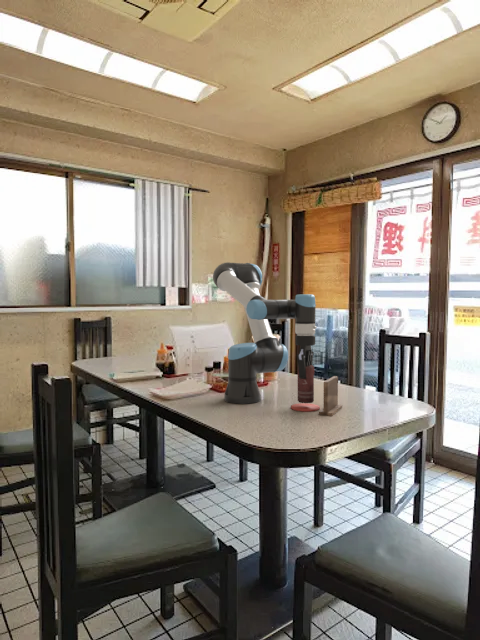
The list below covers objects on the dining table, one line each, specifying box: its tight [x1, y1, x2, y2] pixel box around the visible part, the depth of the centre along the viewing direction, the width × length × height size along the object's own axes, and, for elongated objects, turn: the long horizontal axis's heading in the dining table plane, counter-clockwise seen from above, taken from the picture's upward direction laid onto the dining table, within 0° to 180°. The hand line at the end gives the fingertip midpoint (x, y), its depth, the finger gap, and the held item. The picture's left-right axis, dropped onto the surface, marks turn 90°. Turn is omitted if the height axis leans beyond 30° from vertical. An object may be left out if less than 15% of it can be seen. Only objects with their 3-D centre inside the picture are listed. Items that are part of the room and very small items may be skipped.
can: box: [297, 364, 315, 404], centre depth 170 cm, size 6×6×14 cm
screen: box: [318, 375, 343, 417], centre depth 166 cm, size 5×14×12 cm, turn 153°
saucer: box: [290, 402, 321, 413], centre depth 171 cm, size 11×11×1 cm
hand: (305, 396), depth 171 cm, fingers closed
